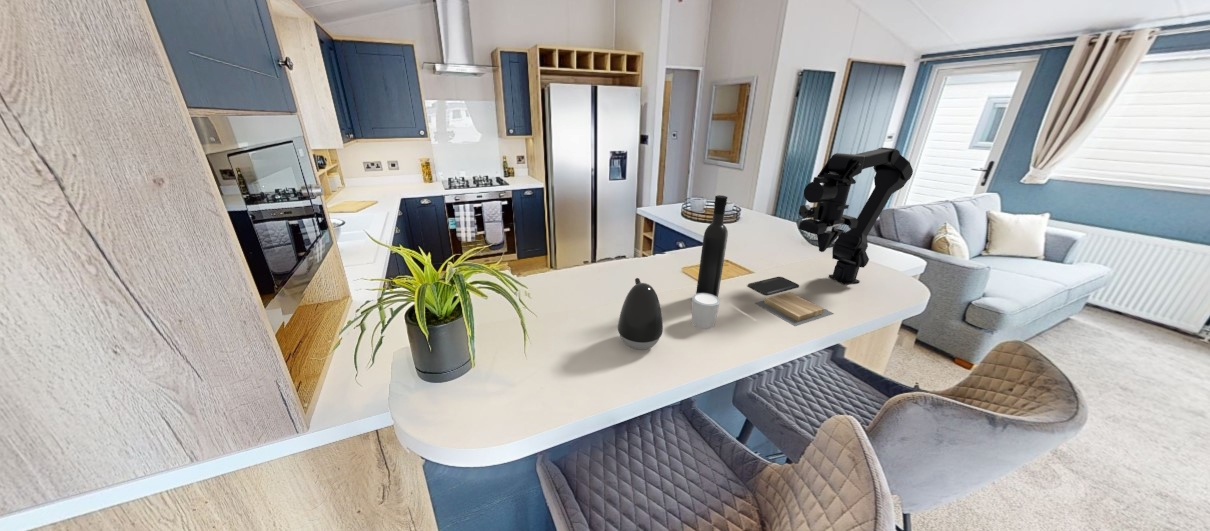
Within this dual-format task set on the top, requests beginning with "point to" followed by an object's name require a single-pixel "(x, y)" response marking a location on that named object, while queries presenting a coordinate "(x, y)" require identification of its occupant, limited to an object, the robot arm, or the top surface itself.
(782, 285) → the phone
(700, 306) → the white short tapered cylinder
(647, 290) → the black egg shape
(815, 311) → the oak block
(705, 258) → the wine bottle
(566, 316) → the top surface
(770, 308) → the charcoal mat
